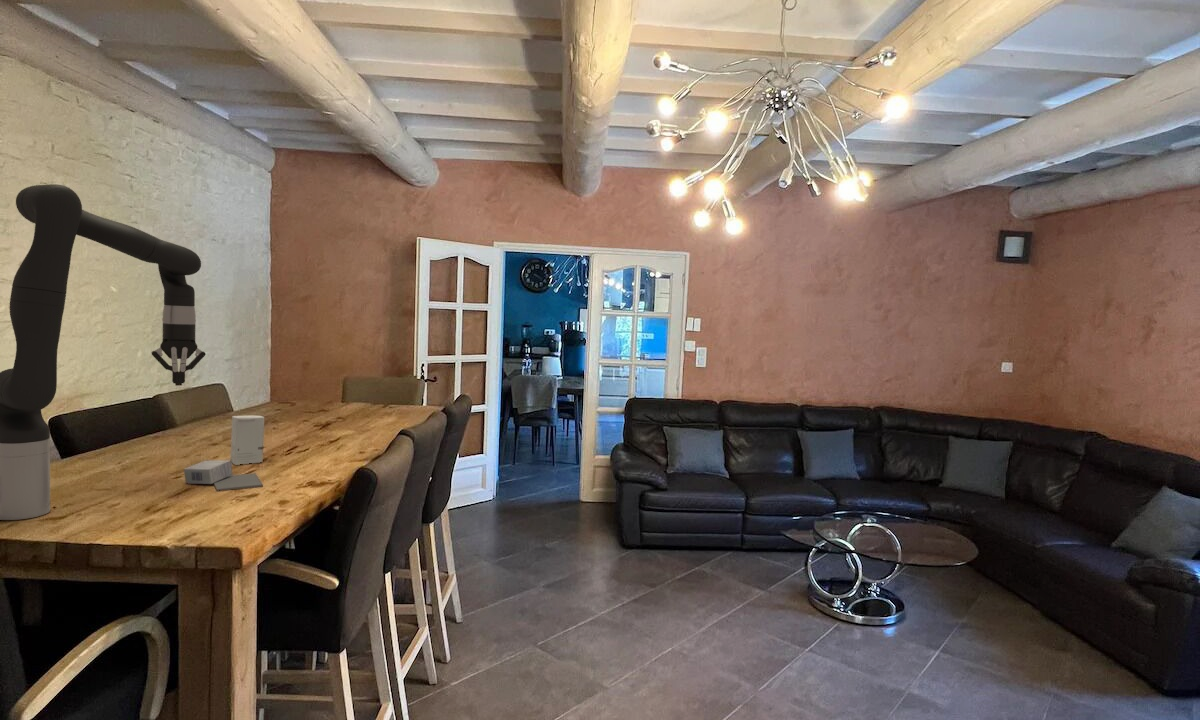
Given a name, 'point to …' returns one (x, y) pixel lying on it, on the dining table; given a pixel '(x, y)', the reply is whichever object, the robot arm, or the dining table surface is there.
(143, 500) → the dining table surface
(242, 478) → the rubber mat
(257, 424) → the skincare box
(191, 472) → the medicine box
